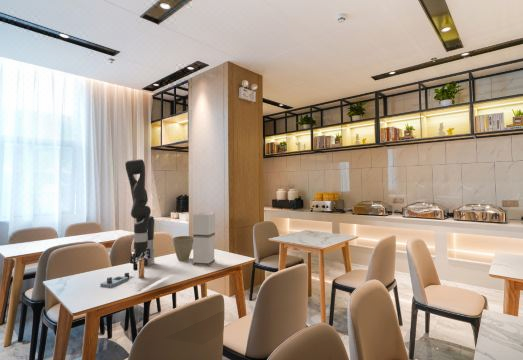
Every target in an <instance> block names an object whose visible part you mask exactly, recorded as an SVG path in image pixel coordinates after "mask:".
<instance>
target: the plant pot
mask: <svg viewBox="0 0 523 360" xmlns="http://www.w3.org/2000/svg"><path fill="white" fill-rule="evenodd" d="M172 242H173V248H174V252H175V255H176V258H177V260H178V261H181V262H182V261H188V260H189V258H190V255H191V253H192V251H193V235H192V236H190V235H179V236H175V237H172Z"/></svg>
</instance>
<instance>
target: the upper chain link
mask: <svg viewBox="0 0 523 360" xmlns="http://www.w3.org/2000/svg"><path fill="white" fill-rule="evenodd" d="M127 281H128V277H123V276H121V275H118V276H115V277H112V276H109V277H106V280H105V281H104V282H101V283H100V287H102V288H103V287H104V288H114V287H116V286H118V285H120V284H123V283H124V282H127ZM122 282H123V283H122Z"/></svg>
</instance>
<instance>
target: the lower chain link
mask: <svg viewBox="0 0 523 360" xmlns="http://www.w3.org/2000/svg"><path fill="white" fill-rule="evenodd" d="M122 277H128V280H129V281H130V280H131V279H133V278H134V276H130V272H124V275H122ZM128 280H127V281H128ZM123 283H124V282H122V283H121V284H123Z"/></svg>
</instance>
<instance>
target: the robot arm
mask: <svg viewBox="0 0 523 360" xmlns="http://www.w3.org/2000/svg"><path fill="white" fill-rule="evenodd" d="M125 172H126V175H127V178H128V183H129V186H130V192H131V198H132V207H131V210H130V216H131V218H132V219H135V221H136V222H135V223H134V226H133V229H134V231H133V232H134V234H133V250H134V252H131V253H130V257H129V259H130V260H129V264H132V270H133V271H135V272H136V271H137V272H138V271H139V260H140V259H144V268H146V267H149V266H152V265H154V263H155V248H154V245H155V244H154V240H155V238H154V235H155V218H154V216H151V213H152V211H151V208H150V206H148V205H147V203H148V191H147V190H146V165H145V161H144V160H143V159H139V158H138V159H132V160H131V159H129V160H126V161H125ZM135 175H139V177H138V180H137V179H136V178H135Z"/></svg>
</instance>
